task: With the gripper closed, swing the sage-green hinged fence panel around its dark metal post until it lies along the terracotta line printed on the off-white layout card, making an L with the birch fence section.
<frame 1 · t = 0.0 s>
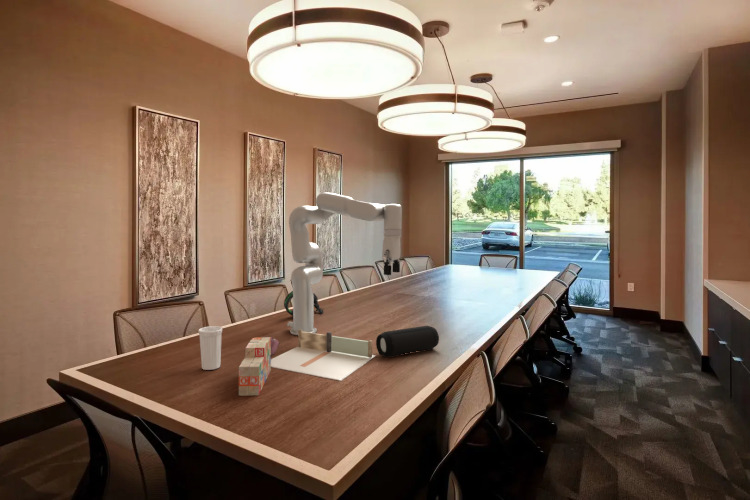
hand: (391, 273, 176), 31 cm above the table, fingers open, 9 cm apart
folding fence panel: (351, 346, 163), point 4 cm above the table, hinge at 0.0°
stack of blocks: (256, 382, 136), on the table
video game controller: (266, 352, 167), on the table
cup: (211, 368, 149), on the table
portable speaker: (407, 353, 168), on the table
fixed fence section: (329, 352, 168), resting on layout card
layout card: (320, 360, 158), on the table
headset: (304, 316, 228), on the table
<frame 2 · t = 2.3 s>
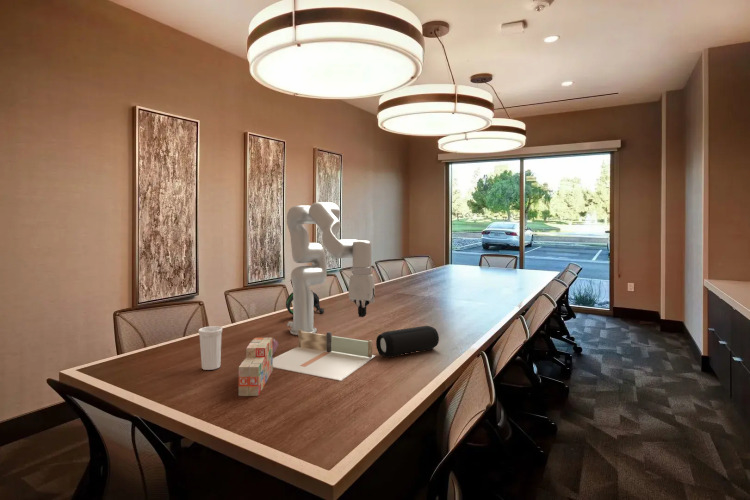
hand: (362, 316, 167), 15 cm above the table, fingers closed
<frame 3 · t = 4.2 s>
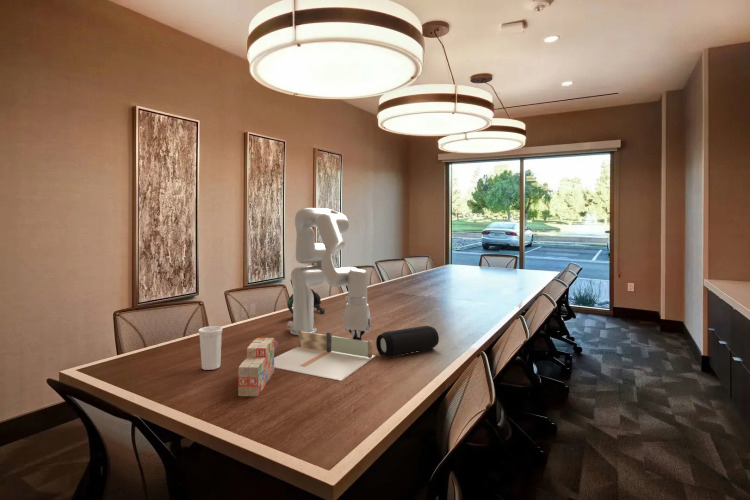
hand: (357, 345, 164), 4 cm above the table, fingers closed
folding fence panel: (351, 346, 163), point 4 cm above the table, hinge at -0.5°, touching gripper
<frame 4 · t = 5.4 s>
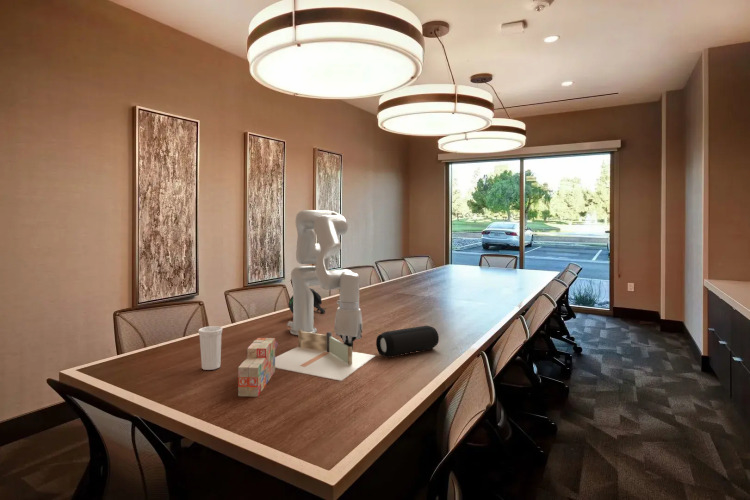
hand: (348, 351, 159), 3 cm above the table, fingers closed
folding fence panel: (340, 349, 159), point 4 cm above the table, hinge at -34.6°, touching gripper
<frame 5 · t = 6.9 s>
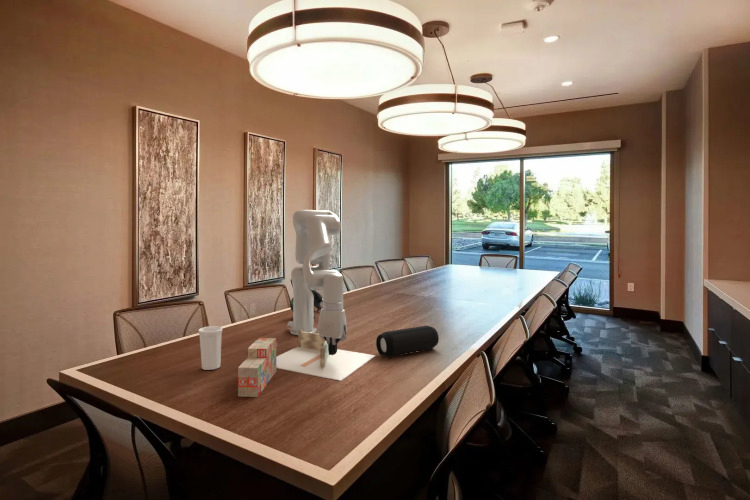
hand: (332, 353, 155), 3 cm above the table, fingers closed
folding fence panel: (325, 350, 157), point 4 cm above the table, hinge at -66.5°, touching gripper
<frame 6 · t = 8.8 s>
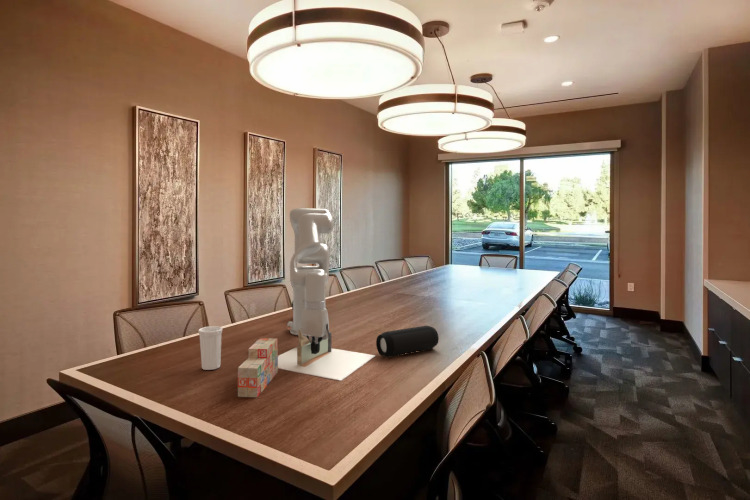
hand: (315, 352, 155), 4 cm above the table, fingers closed
folding fence panel: (313, 349, 158), point 4 cm above the table, hinge at -95.4°, touching gripper
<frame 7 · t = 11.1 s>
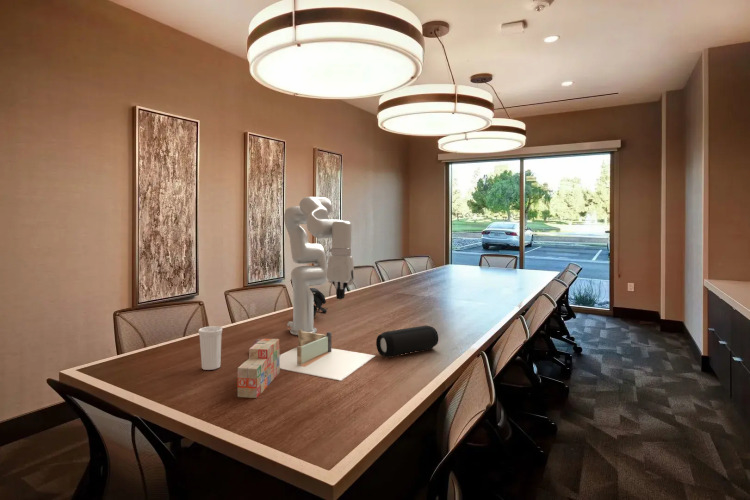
hand: (340, 298, 163), 23 cm above the table, fingers closed
folding fence panel: (313, 349, 158), point 4 cm above the table, hinge at -95.4°
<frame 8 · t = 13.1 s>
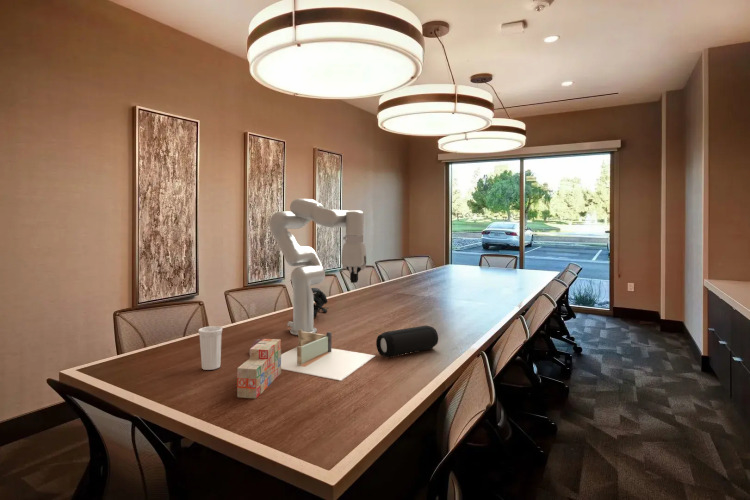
hand: (354, 282, 177), 27 cm above the table, fingers closed
at the end: folding fence panel at -95° (first picture: +0°); the gripper is holding nothing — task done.
